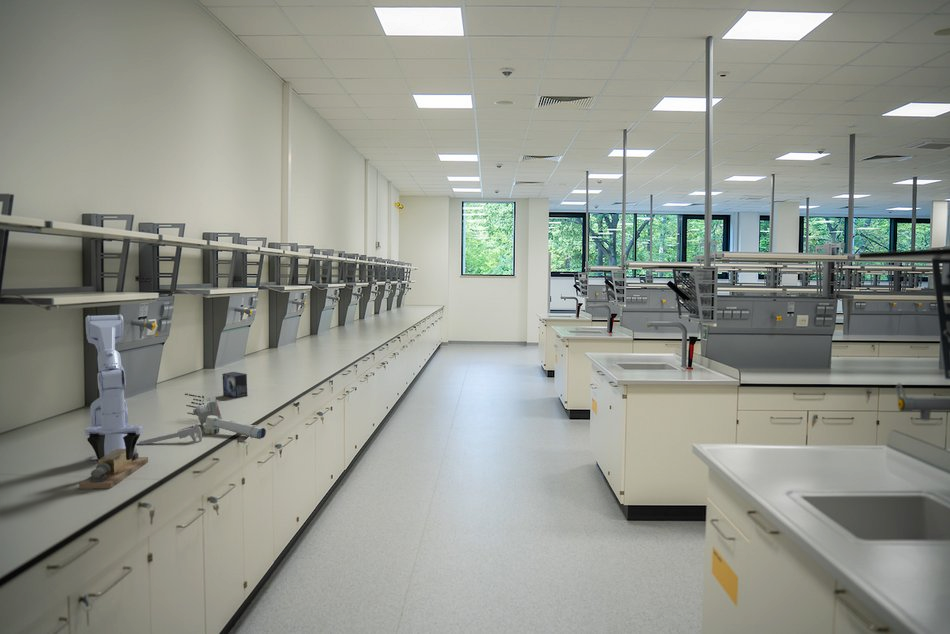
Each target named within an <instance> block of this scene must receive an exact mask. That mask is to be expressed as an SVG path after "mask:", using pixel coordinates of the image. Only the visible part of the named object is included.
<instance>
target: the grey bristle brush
mask: <svg viewBox="0 0 950 634" xmlns="http://www.w3.org/2000/svg"><path fill="white" fill-rule="evenodd" d="M184 396H190V397H194V398H193V399H192V400H193V401H197V402H193V401H191V404H193V405H191V404H189V405H187V404H186V405H185V406H186V407H189V408H192V412H193V413H192V412H186V413H187V414H188V415H192V416H193V415H194V416H197V418H198V420H199V424H200V426H201V427H203V424H204V423H206V418H207V416H210V415H213V416H217V417H218V418H219V419H223V418H222V414H221V411H220V408H219V403H218V401H217V398H216V397H217V396H210V397H209V399H207V400H206V401H207V403H204V401H205V400H204V399H205V396H204V395H202V396H200V395H195V394H190V393H188V392H186V393H184ZM196 398H197V399H196ZM200 398H202V399H200ZM198 402H199V403H198ZM200 402H202V403H200ZM194 405H197V406H194ZM193 408H194V409H193Z"/></svg>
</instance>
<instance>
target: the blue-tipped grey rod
mask: <svg viewBox="0 0 950 634" xmlns="http://www.w3.org/2000/svg"><path fill="white" fill-rule="evenodd" d="M202 427H203V433H204V434H206V435H209V434H212V435H215V434H219V433H220V429H221V430H226V431H229V432H233V433H236V434H240V435H243V436H247V437H249V438H251V439H253V438H254V439H259V440H261V439H263V438H265V437H266V434H267V430H266V429H265V428H264V427H261V426H258V425H257V424H254V425H252V424H248V423H243V422H238V421H233V420H228V419H224V418H222V419H219V418H218V417H217V416H213V415H210V416H207V418H206V423H204V424H203V426H202Z"/></svg>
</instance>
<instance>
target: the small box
mask: <svg viewBox="0 0 950 634" xmlns="http://www.w3.org/2000/svg"><path fill="white" fill-rule="evenodd" d="M247 376H248V374H247V373H244V372H237V371H231V372H224V373H222V395H223V396H224V397H230V398H233V399H240V398H245V397H248V379H247V378H248V377H247Z"/></svg>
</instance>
